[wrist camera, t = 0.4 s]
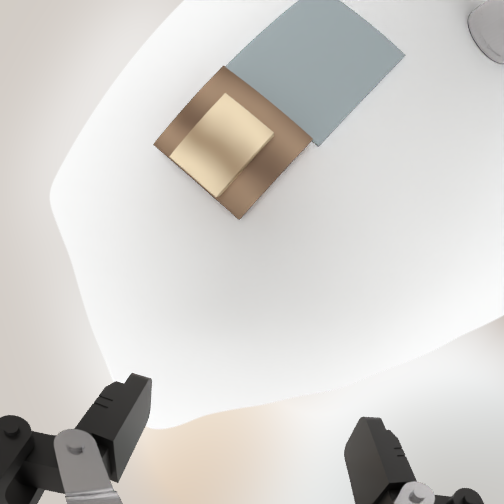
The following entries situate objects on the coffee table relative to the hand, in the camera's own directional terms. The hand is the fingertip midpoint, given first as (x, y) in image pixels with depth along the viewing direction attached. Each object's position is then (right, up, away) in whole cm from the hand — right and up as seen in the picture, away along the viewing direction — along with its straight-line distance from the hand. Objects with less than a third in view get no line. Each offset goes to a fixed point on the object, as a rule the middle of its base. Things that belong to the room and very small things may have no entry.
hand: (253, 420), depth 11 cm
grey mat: (+8, +29, +21) cm, 36 cm away
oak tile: (-3, +17, +20) cm, 26 cm away
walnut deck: (-2, +18, +24) cm, 30 cm away
